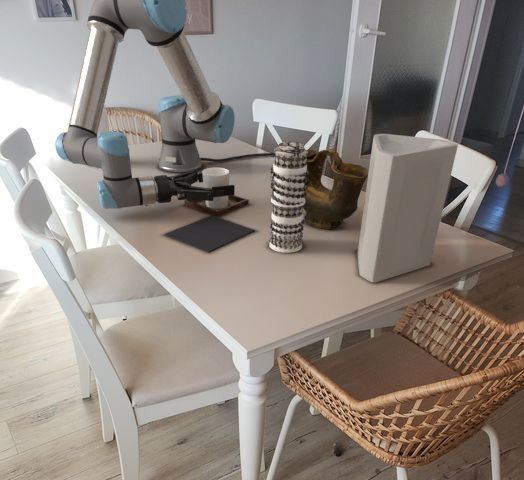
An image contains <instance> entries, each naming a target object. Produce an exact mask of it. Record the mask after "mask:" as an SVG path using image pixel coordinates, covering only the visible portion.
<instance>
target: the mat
mask: <svg viewBox="0 0 524 480" xmlns="http://www.w3.org/2000/svg"><path fill="white" fill-rule="evenodd" d="M253 232H255V229H252V228H250V227H247V226H244V225H241V224H238V223H235V222H233V221H231V220H230V221H229V220H226V219H223V218H221V217H217V216H214V215H211V214H210V215H209V216H206V217H204V218H201V219H199V220H196V221H193V222H191V223H189V224H186V225H184V226H181V227H178V228H176V229H174V230H171V231H168V232H166V233H164V236H166V237H168V238H171V239H174V240H176V241H178V242H182V243H183V244H187V245H189V246H192V247H194V248H196V249H199V250H201V251H204V252H206V253H211V252H212V251H215V250H218V249H219V248H222V247H224V246H226V245H228V244H230V243H232V242H235V241H236V240H238V239H240V238H243V237H245V236H247V235H249V234H252V233H253Z"/></svg>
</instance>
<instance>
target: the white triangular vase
mask: <svg viewBox="0 0 524 480" xmlns="http://www.w3.org/2000/svg"><path fill="white" fill-rule="evenodd" d="M458 147H459V143H455V142H452V141H449V140H445V139H441V138H440V139H439V138H429V137H420V136H419V137H418V136H409V135H400V134H390V133H378V134H373V139H372V146H371V153H370V159H369V168H368V171H369V172H368V176H367V179H366V187H365V194H364V202H363V209H362V217H361V224H360V230H359V237H358V238H359V239H358V245H357V252H356V253H357V263H358V271H359V273H358V274H359V276H360V277H361V278H363V279H365V280H367V281H369V282H370V283H373V284H375V283H378V282H382V281H386V280H388V279H392V278H395V277H397V276H400V275H404V274H406V273H409V272H412V271H416V270H419V269H422V268H425V267H428V266H430V265H431V263H432V258H433V252H434V248H435V245H436V240H437V236H438V232H439V227H440V224H441V219H442V215H443V210H444V206H445V202H446V199H447V193H448V189H449V185H450V181H451V176H452V172H453V168H454V163H455V160H456V155H457V151H458Z"/></svg>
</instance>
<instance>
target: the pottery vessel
mask: <svg viewBox="0 0 524 480" xmlns="http://www.w3.org/2000/svg"><path fill="white" fill-rule="evenodd" d="M306 150H307V151H308V153H307V162H306V164H307V170H308V171H309V175H307V176H305V177H307V178H308V180H309V181H308V182H306V183H304V185H306V186H307V188H308V189H307V190H305V191H304V192H306V193H307V196H306V197H304V198H305V204H304V205H303V211H305V216H304V222H306V223H307V224H308V225H309V226H312V227H315V228H317V229H324V230H333V229H335V228H336V227H340V226H342V222H344V220H346V219H349V218H350V217H351V216H352V215H353V214H355V212H356V211H358V210H357V209H358V203H359V198H360V195H361V192H362V189H363V187H364V184H365V182H366V181H367V179H368V173H369V169H368V168H367V167H364V166H362V165H360V164H355V163H351V162H350V163H349V162H348V163H347V162H344V161H343V160H342V158H341V156H340V154H339V152H337V150H336V149H333V148H329V149H322V150H319V151H317V150H314V149H306ZM328 157H329V159H330V170H331V171H332V176H333V180H332V181H333V182H332V188H331V189H330V188H328V187H326V186H325V185H323V182H322V178H323V177H322V176H323V169H324V165H325V162H326V160H327V158H328Z"/></svg>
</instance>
